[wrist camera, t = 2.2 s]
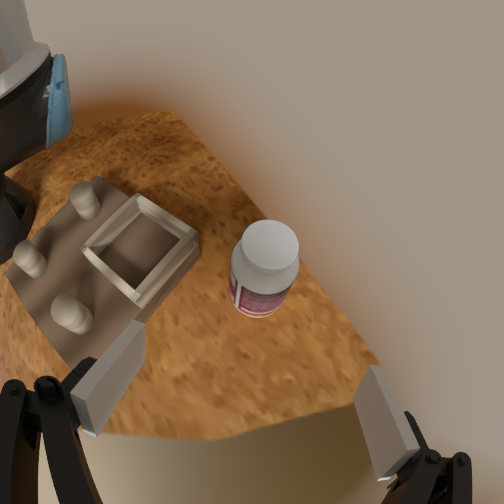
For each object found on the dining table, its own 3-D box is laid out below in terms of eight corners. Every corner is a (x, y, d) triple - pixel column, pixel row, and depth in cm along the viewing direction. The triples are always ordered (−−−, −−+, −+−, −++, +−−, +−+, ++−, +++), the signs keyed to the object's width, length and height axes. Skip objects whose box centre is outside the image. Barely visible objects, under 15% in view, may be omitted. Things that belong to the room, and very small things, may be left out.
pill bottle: (293, 294, 32) (323, 245, 22) (256, 330, 29) (273, 295, 20) (255, 259, 34) (269, 200, 24) (217, 291, 31) (215, 240, 22)
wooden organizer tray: (16, 281, 28) (-12, 258, 22) (103, 188, 37) (89, 155, 31) (96, 385, 24) (64, 379, 18) (200, 256, 33) (196, 222, 27)
